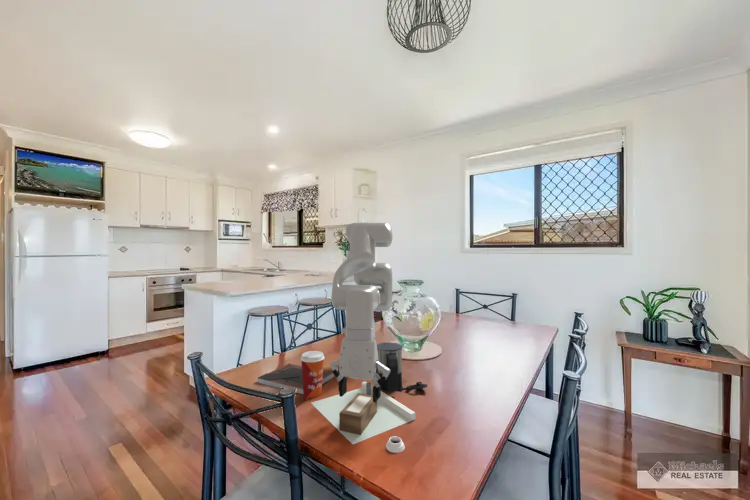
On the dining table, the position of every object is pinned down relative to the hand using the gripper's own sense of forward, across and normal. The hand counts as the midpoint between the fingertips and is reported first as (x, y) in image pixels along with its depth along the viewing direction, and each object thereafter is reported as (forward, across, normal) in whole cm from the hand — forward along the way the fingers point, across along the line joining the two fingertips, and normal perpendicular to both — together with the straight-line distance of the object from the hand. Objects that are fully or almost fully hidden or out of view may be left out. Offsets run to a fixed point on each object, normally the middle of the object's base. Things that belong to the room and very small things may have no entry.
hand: (359, 397), depth 85 cm
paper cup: (+8, -21, +10) cm, 24 cm away
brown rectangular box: (+7, 0, +1) cm, 7 cm away
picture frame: (+8, -34, +20) cm, 40 cm away
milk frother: (+8, +5, +26) cm, 27 cm away
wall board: (+8, -2, +6) cm, 10 cm away
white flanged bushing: (+8, +12, -7) cm, 16 cm away
